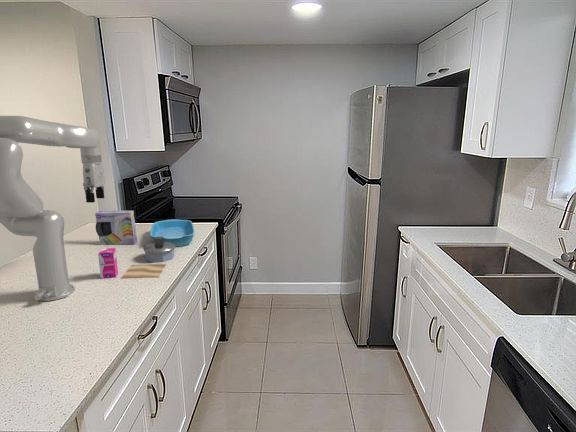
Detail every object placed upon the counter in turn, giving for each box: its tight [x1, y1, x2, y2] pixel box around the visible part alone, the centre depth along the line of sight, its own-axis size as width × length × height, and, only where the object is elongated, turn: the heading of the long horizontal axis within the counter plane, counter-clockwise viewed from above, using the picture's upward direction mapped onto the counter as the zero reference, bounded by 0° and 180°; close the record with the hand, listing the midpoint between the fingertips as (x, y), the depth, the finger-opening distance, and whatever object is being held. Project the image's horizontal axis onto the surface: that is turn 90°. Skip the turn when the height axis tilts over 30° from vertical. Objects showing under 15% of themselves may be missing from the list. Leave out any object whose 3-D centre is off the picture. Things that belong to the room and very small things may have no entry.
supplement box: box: [97, 247, 119, 280], centre depth 150 cm, size 6×6×12 cm
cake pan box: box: [94, 209, 138, 246], centre depth 191 cm, size 19×5×18 cm, turn 92°
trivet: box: [120, 263, 167, 280], centre depth 157 cm, size 15×15×1 cm
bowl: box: [144, 249, 175, 263], centre depth 172 cm, size 12×12×5 cm
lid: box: [143, 237, 176, 253], centre depth 171 cm, size 14×14×5 cm
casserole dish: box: [149, 218, 195, 248], centre depth 201 cm, size 37×22×7 cm, turn 18°
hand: (95, 200), depth 156 cm, fingers open, 9 cm apart
